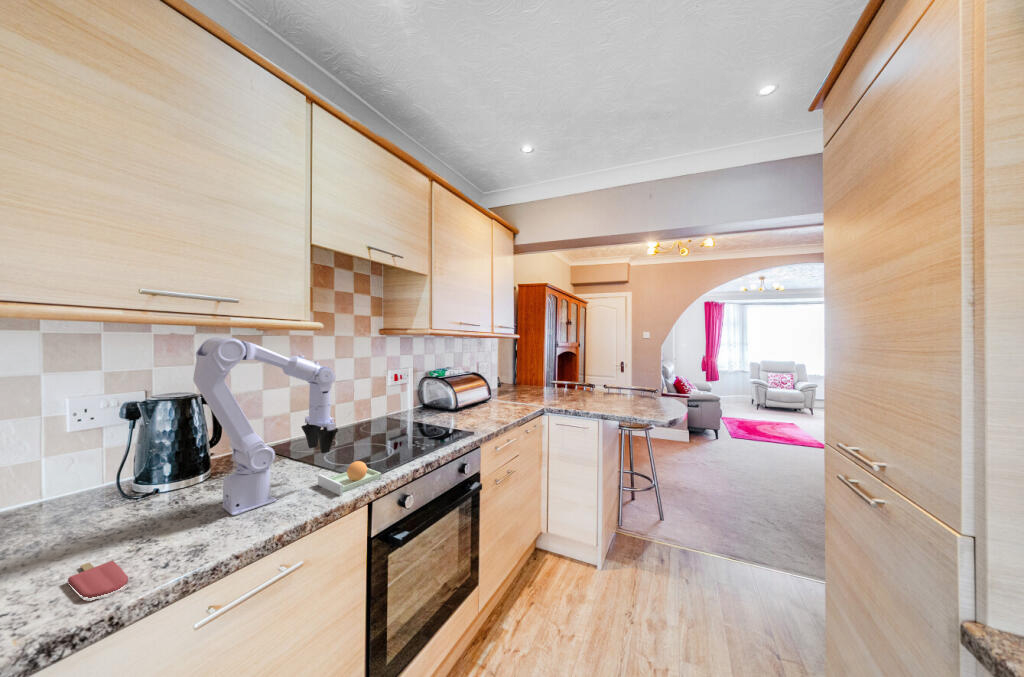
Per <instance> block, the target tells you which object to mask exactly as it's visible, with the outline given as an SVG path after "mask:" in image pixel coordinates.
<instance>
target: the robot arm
mask: <svg viewBox="0 0 1024 677" xmlns="http://www.w3.org/2000/svg"><path fill="white" fill-rule="evenodd" d="M196 350H197V351H195V357H196V358H195V359H196V361H195V365H194V366H195V367H194V370H193V371H194V373H193V382H194V384H195V386H196V388H197V389H198V391H199V392H200V394H201V395H202V398H203V399H204V401H205V402H206V404H207V405H208V408H210V410H211V412H212V413H213V415H214V416H215V418H216V420H217V422H218V423H219V425H220V426H221V428H222V429H223V431H224V433H225V435H226V436H227V438H228V439H229V441H230V443H229V446H230V447H231V450H232V459H233V461H234V462H235V463H236V464H237V465H236V466H237V467H236V469H235V472H233V473H232V474H230V475H227V476H224V478H223V482H222V504H221V508H223V509H224V510H225V511H226V512H227V513H229V514H230V515H231V516H237V515H240V514H243V513H245V512H248V511H251V510H253V509H257V508H259V507H262V506H266V505H268V504H271V503H275V502H277V498H276V497H274V496H272V495H271V465H272V464H273V462H274V461H275V458H276V452H275V449H273V448H272V447H271V446H268V445H267V444H266V443H265V442H264V440H263V438H261V437H260V436H259V435H258V434H257V433H256V432H255V430H254V428H253V427H252V425H251V423H250V421H249V419H248V418H247V416H246V415H245V413H244V411H243V410H242V408H241V406H240V404H239V403H238V401H237V399H236V398H235V395H234V394H233V393H232V391H231V389H230V387H229V386H228V384H227V383H226V378H227V376H228V374H229V373H230V371H231V370H232V369H233V368H234V367H235V366H236V365H238V364H239V363H240V362H241V361H242V360H243V361H249V360H255V361H258V362H262V363H265V364H267V365H268V364H269V365H271V366H275V367H278V368H281V369H282V371H283V373H284V374H285V375H287V376H290V377H292V378H296V379H299V380H302V381H305V382H307V383H308V384H309V393H308V395H309V397H308V398H309V399H308V401H309V402H308V416H305V417H304V423H305V424H304V425H302V426H301V429H302V431H303V433H304V436H305V438H306V442H307V446H308V448H309V449H314V448H317V447H318V444H319V447H320V448H319V449H320V453H321V454H327V453H330V451H331V449H332V448H331V447H332V443H333V441H334V438H335V437H336V435H337V433H338V431H339V428H337V427H336V422H334V420H335V417H332V416H331V410H332V409H331V404H332V402H331V401H332V384H333V383H334V382H335V380H336V377H337V376H336V374H335V373H334V370H333V369H332V368H331V367H330V366H323V365H322V366H321V365H320V362H317V361H314V362H313V361H312V360H308V359H305V358H306V356H304V355H300V354H299V355H298V356H297V355H292V356H289V357H287V356H284V355H282V354H280V353H277V352H275V351H273V350H271V349H267V348H265V347H263V346H260V345H258V344H255V343H254V342H253V343H252V342H249V341H244V340H239V339H237V338H235V337H226V338H222V337H211V338H208V339H206V340H205V341H203V343H202V344H201V345H200V346H199V348H198V349H196ZM321 428H322V429H321Z"/></svg>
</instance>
